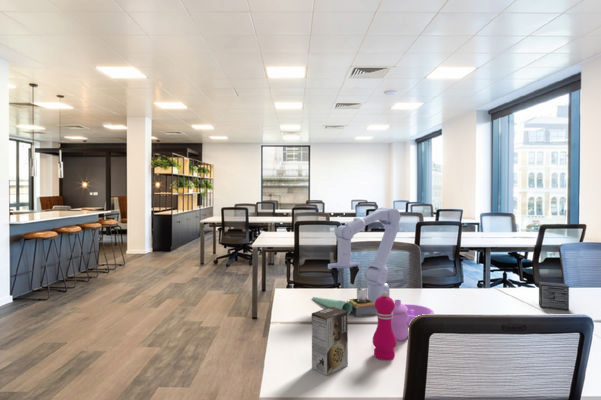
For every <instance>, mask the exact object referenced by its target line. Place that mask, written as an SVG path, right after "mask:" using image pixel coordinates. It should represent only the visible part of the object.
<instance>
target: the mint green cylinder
mask: <svg viewBox="0 0 601 400" xmlns="http://www.w3.org/2000/svg"><path fill="white" fill-rule="evenodd" d="M311 299H312V300H313V301H314V302H317V303H318V304H320V305H322V306H324V307H326V308H329V307H335V308H339V309H341V310H344V311H347V316H349V315H351V313H350V312H351V310H352V305H351V304H350V303H349V302H347V301H344V300H337V299H332V298H323V297H316V296H313V297H311Z"/></svg>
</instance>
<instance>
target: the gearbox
mask: <svg viewBox="0 0 601 400" xmlns="http://www.w3.org/2000/svg"><path fill="white" fill-rule="evenodd" d="M346 302H349V303H350V304H351V305H352V310H351V312H350V315H353V316H354V317H355V318H357V317H368V316H376V315H377V313H376V312H377V309H376V308H375V303H374V302H373V301H371V300H369V299H368V298H367V303H363V304H357V298H350V299H348V300H346Z"/></svg>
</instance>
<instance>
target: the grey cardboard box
mask: <svg viewBox="0 0 601 400" xmlns="http://www.w3.org/2000/svg"><path fill="white" fill-rule="evenodd" d="M348 328H349V327H348V315H347V311H344V310H341V309H339V308H335V307H329V308H328V307H326V308H323V309H321V310H318V311H315V312H312V313H311V369H312V370H315V371H316V372H319V373H321V374H323V375H325V376H329V375H331V374H333V373H335V372H337V371H339V370H341V369H344V368H345V367H347V366H348V365H349V361H348V359H349V358H348V354H349V353H348V352H349V351H348V349H349V348H348V345H349V344H348V342H349V339H348V335H349V333H348V330H349V329H348Z"/></svg>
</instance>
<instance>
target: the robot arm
mask: <svg viewBox="0 0 601 400" xmlns="http://www.w3.org/2000/svg"><path fill="white" fill-rule="evenodd" d="M401 218H402V216H401V214H400V211H399V210H398V208H395V207H394V208H393V207H392V208H387V207H379V208H378V209H375V210H374V211H372V212H371V213H369V214H368V215H366V216H364V217H363V218H360V217H355V218H353V220H352V221H350V222H346V223H345V224H344V225H339V226H338V227H337V228H336V230H335V232H334V235H335V237H336V239H337V262H333V263H328V264H327V269H328V270H329V272H330V274H331V276H332V280H333V284H334V286H336V287H337V286H339V280H338V278H339V273H340V271H339V270H338V269H348V268H349V275H350V277H349V278H350V281H349V283H350V284H351V285H355V280H356V277H357V275H358V273H359V271H360V268H361V262H359V261H355V262H353V261H352V239H353V238H354V236H355V235H356V234H358V233H360V232H362V231H363V230H365V229H366V226H368V225H370V224H373V223H374V222H376V221H379V222H380V224H381V225H382V226H383V227H384V232H383V235H382V238H381V240H380V243H379V247H378V249H377V252H376V255H375V258H374V260H373V261H372V262H370V263H369V264H368V266H367V268H366V269H365V270H364V274H363V276H364V279H365V280H366V283H367V299H369V300H371V301H373V302H374V303H375V301H376V299H377V298H378V297H380V296H382V292H384V291H385V292H387V294H388V297H390V286H389V284H388V283H387V280H388V273H389V269H388V267H387V262H388V259H389V256H390V254H391V250H393V249H392V248H393V246H394V244H395V243H394V242H395V239H396V237H397V234H398V231H399V223H400V221H401Z"/></svg>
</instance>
